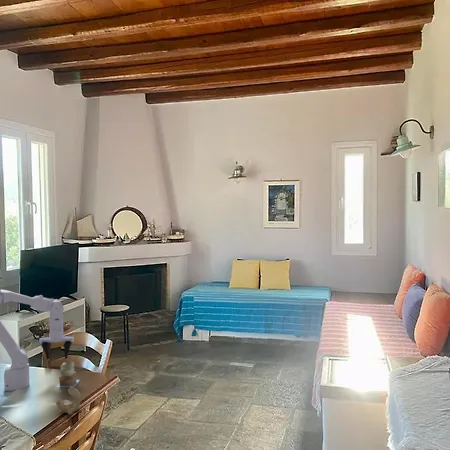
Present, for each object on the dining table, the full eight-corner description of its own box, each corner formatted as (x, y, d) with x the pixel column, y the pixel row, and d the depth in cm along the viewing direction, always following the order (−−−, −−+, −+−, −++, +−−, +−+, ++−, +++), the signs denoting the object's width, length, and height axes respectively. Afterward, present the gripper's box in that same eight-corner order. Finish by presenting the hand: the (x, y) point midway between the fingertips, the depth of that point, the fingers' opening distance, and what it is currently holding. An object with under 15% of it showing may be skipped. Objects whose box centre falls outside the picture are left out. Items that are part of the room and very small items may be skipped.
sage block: (60, 376, 192) (60, 366, 192) (63, 372, 197) (63, 362, 197) (71, 376, 193) (71, 365, 193) (74, 372, 197) (74, 362, 197)
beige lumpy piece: (54, 415, 162) (57, 386, 167) (55, 417, 167) (57, 389, 172) (79, 413, 164) (81, 384, 169) (79, 416, 170) (81, 388, 175)
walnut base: (59, 386, 192) (59, 376, 192) (63, 381, 198) (63, 372, 198) (72, 385, 193) (72, 376, 192) (76, 380, 198) (75, 371, 198)
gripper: (36, 330, 196) (37, 362, 196) (70, 329, 197) (71, 360, 197) (42, 326, 203) (43, 357, 203) (75, 325, 204) (75, 355, 204)
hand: (57, 358), depth 200 cm, fingers open, 7 cm apart
